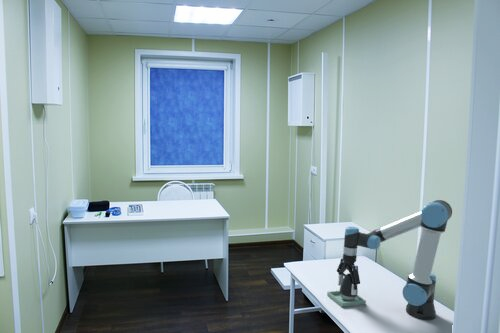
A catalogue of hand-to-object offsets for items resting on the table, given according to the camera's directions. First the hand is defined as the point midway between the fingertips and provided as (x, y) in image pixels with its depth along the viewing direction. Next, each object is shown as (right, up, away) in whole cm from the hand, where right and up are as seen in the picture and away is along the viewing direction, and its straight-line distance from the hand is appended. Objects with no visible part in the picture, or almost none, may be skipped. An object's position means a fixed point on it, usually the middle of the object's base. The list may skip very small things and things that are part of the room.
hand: (346, 289), depth 232 cm
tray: (0, -6, +1) cm, 6 cm away
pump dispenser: (+1, -6, +1) cm, 6 cm away
